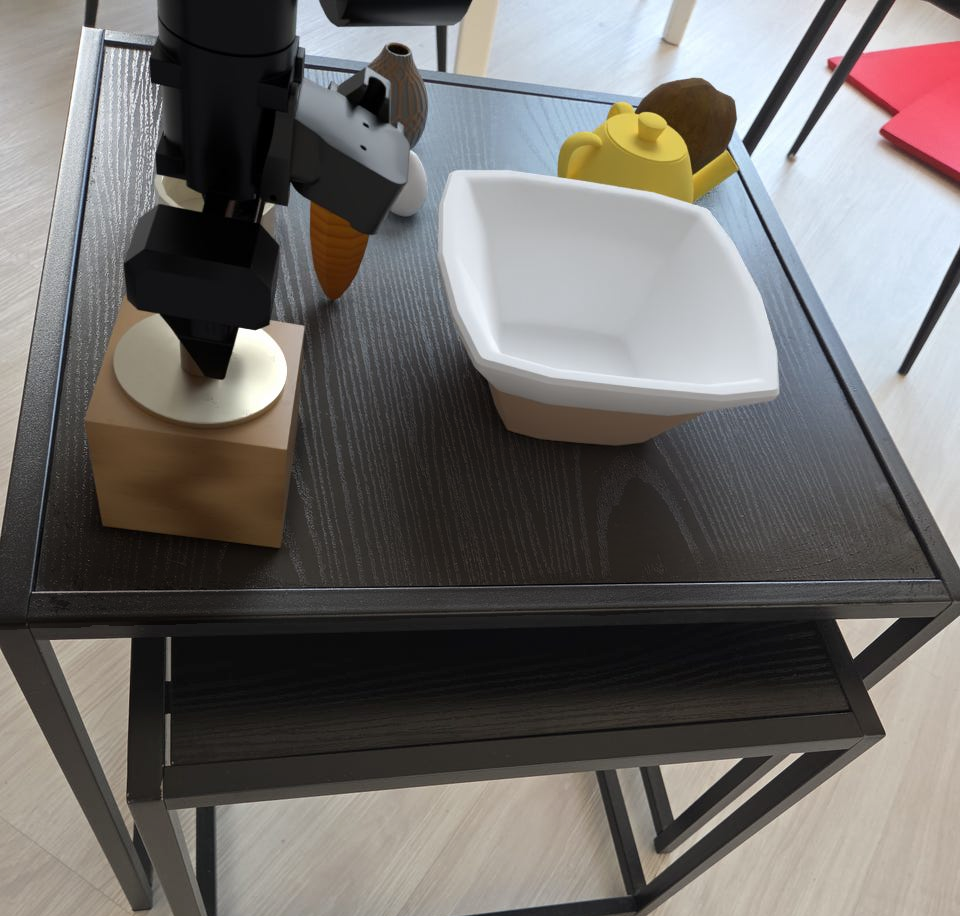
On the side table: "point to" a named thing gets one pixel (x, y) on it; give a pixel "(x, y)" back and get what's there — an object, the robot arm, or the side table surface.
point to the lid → (198, 377)
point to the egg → (412, 189)
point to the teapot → (640, 157)
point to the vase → (404, 89)
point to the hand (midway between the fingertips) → (227, 321)
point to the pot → (199, 200)
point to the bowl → (599, 306)
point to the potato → (695, 116)
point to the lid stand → (194, 458)
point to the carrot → (335, 250)
